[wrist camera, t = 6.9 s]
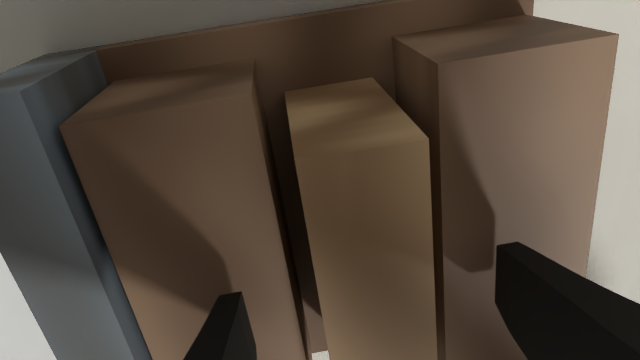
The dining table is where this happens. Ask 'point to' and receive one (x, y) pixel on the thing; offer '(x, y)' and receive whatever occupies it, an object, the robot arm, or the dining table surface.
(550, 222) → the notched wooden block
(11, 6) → the dining table surface
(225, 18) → the dining table surface
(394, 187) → the tall tan pillar
